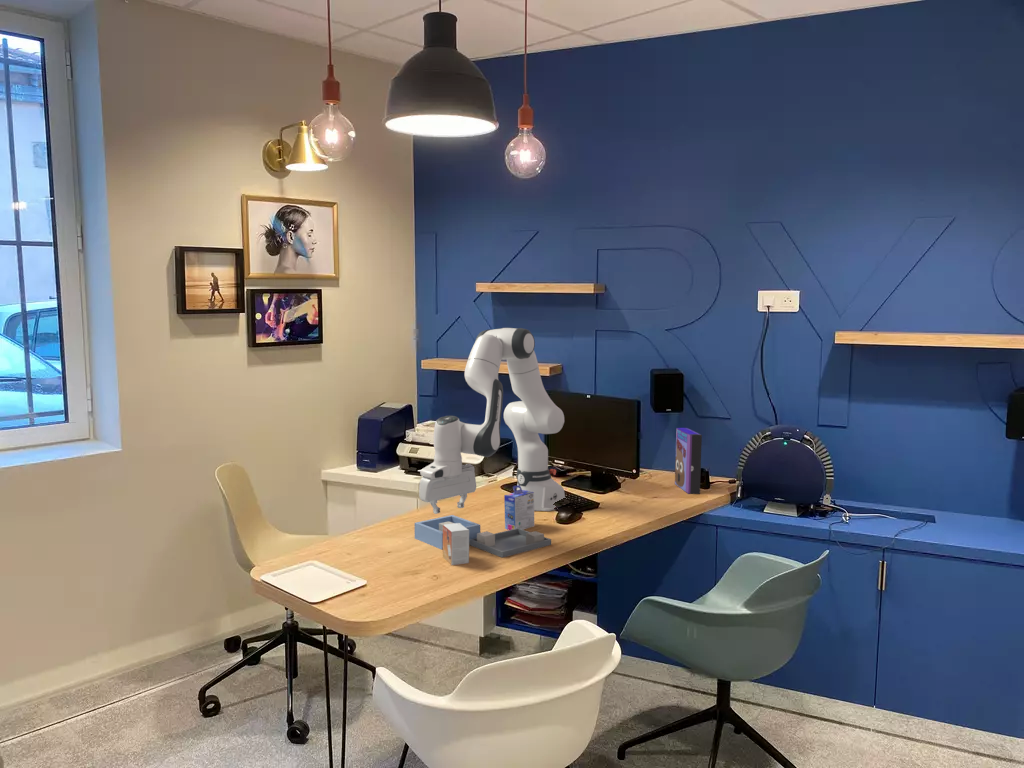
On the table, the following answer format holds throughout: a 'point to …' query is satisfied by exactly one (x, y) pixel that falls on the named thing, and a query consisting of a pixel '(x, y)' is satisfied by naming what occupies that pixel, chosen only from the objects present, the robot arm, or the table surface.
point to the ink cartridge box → (519, 509)
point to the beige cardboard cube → (443, 524)
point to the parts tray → (510, 543)
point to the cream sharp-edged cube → (486, 538)
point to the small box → (455, 544)
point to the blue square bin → (434, 537)
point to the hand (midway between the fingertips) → (448, 510)
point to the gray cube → (534, 537)
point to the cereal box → (688, 460)
